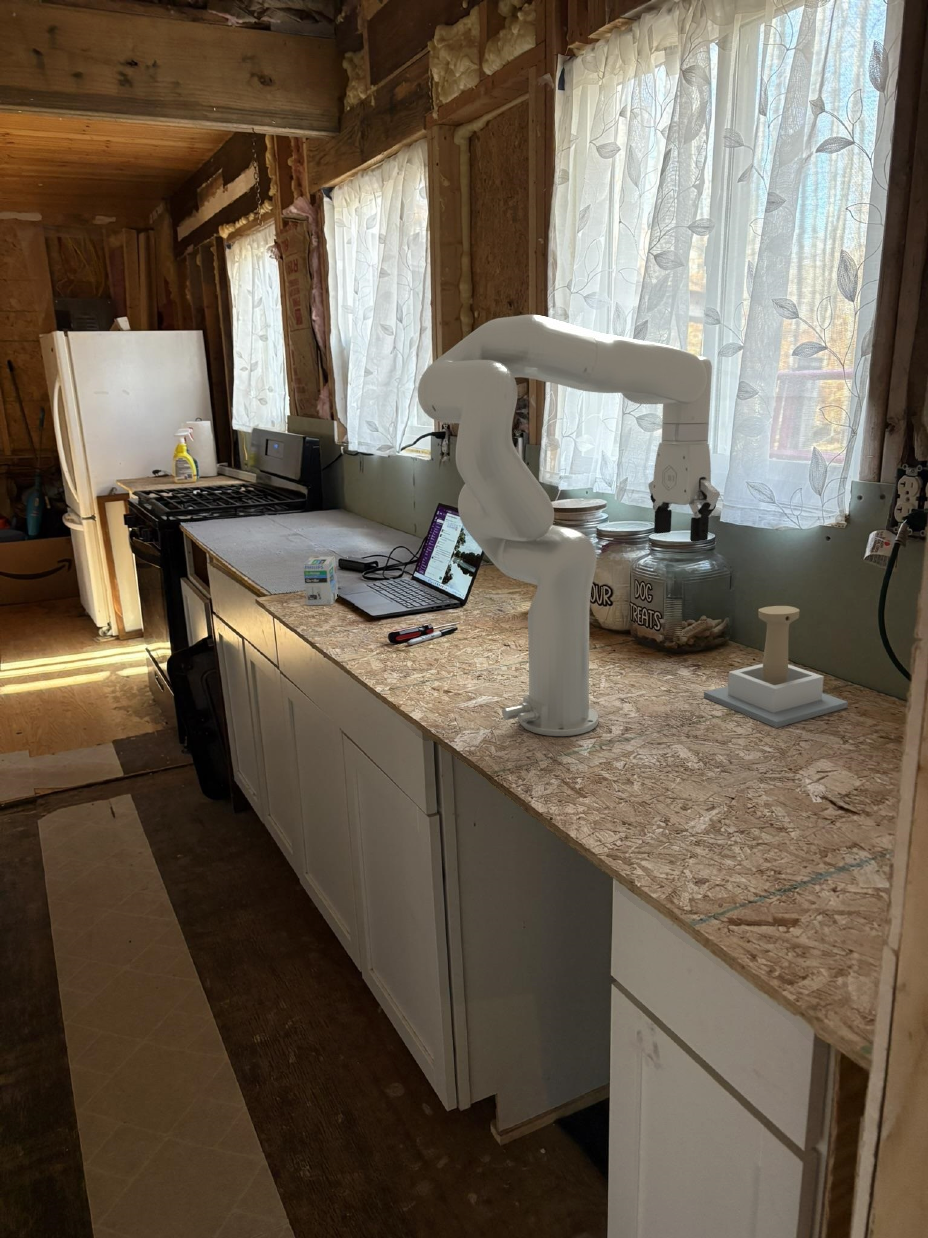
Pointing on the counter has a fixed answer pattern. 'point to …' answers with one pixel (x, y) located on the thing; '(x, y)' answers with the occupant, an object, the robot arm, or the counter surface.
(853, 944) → the counter surface
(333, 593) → the light bulb box
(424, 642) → the counter surface
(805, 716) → the socket plate
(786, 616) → the handle
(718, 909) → the counter surface
